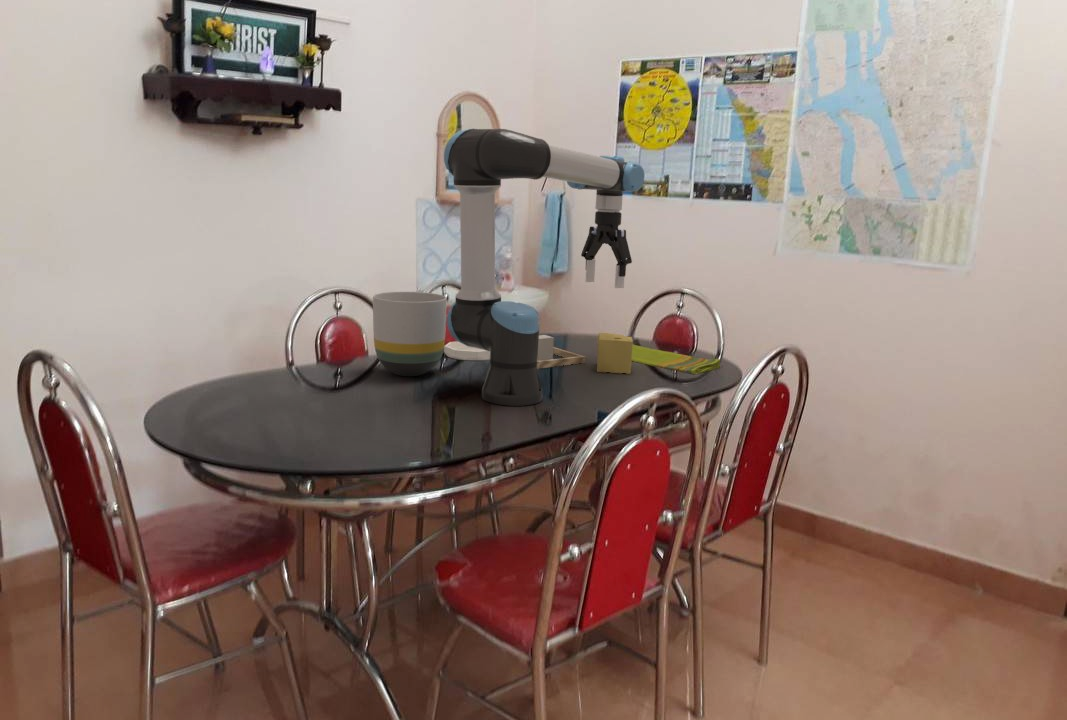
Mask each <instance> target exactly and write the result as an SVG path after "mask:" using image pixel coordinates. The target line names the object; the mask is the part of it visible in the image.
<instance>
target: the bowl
mask: <svg viewBox="0 0 1067 720" xmlns="http://www.w3.org/2000/svg"><path fill="white" fill-rule="evenodd" d="M443 353H444V354H445V355H446V357H448V358H450V359H454V360H459V361H477V362H478V361H490V351H487V350H483V349H479V348H475V347H469V346H466V345H464V344H462V343H460V342H458V341H457V340H456V341H449V342H448V343H447V344H444V350H443Z"/></svg>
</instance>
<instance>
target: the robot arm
mask: <svg viewBox="0 0 1067 720" xmlns="http://www.w3.org/2000/svg"><path fill="white" fill-rule="evenodd" d="M443 162H444V165H445V168H446V169H447V170H448V173H449V174H450V175H451V176H453V187H454V188H455V189H456V190H457V191H458V192H459V201H460V202H459V205H460V206H459V209H460V210H459V213H460V214H459V215H460V217H459V219H460V221H459V223H460V276H461V277H460V280H461V281H460V284H461V285H460V286H461V288H460V289H459V291H458V292H457V293H456V294H455V298H454V299H455V301H454V302H453V303H452V304H451V306H450V309H448V311H447V313H446V327H447V329H448V332H449V334H450V336H451V337H452V338H453V339H454V340H455V341H456V342H457V341H458V342H460V343H462V344H464V345H466V346H469V347H475V348H479V349H483V350H487V351H490V360H489V369H488V371H487V373H486V377H485V379H484V384H483V385H482V387H481V398H482V400H484V401H485V402H489V403H491V404H496V405H499V406H500V405H501V406H513V407H516V406H517V407H518V406H531V405H536V404H538V403H540V402H542V401H543V396H544V390H543V387H542V383H541V380H540V375H539V372H538V369H537V355H538V339H539V335H540V322H539V321H540V319H539V318H540V317H539V312H538V310H537V309H536V308H534V307H533V306H531V305H529V304H525V303H521V302H515V301H511V300H508V301H506V300H505V301H503V300H502V294H501V293H500V292H499V291H497V289H496V215H495V214H496V210H495V209H496V207H495V203H496V202H495V200H496V193H497V191H498V190H499V189H500V188H501V186H502V180H511V179H512V180H513V179H514V180H515V179H529V180H534V181H535V180H540V179H542V178H548V179H552V180H559V181H565V182H566V183H567V185H568V186H569V187H570V188H572V189H574V190H575V189H577V190H590V191H591V190H595V191H596V194H595V195H596V196H595V207H594V208H595V210H597V211H595V212H594V213H595V214H594V224H595V225H597V226H589V229H588V236H587V238H586V241H585V243H584V247H583V249H582V252H581V255H580V256H581V257H582V258H584V259H585V283H595V273H596V272H595V271H596V259H595V258H596V256H597V254H598V253H599V251H600V249H601V248H602V246H603V245H604V244H605V245H608V247H610V249H611V251H612V253H613V255H614V257H615V260H616V261H617V264H616V265H615V275H614V277H615V278H614V289H624V288H625V287H624V286H625V277H626V274H627V271H626V270H627V266H628V265H629V264H632V263H633V259H632V257H631V252H630V248H629V244H628V241H627V240H628V239H627V229H619V226H621V224H622V215H623V214H622V213H621V210H623V196H624V194H623V192H626V193H630V192H637V191H639V190H640V189H641V188H642V187H643V185H644V183H645V174H646V173H645V170H644V168H643V166H642V165H641V164H640V163H638V162H631V161H628V162H627V161H625V157H623V156H621V155H599V156H597V155H593V154H588V153H584V152H580V151H576V150H570V149H566V148H563V147H558V146H553V145H550V144H549V143H548V142H547V140H546V139H542V138H537V137H534V136H532V135H529V134H524V133H521V132H518V131H514V130H510V129H507V128H506V129H505V128H468V129H463V130H459V131H457V132H456V133H454V134H453V135H452V136H451V137H450V139H448V141H447V143H446V145H445V148H444V152H443Z"/></svg>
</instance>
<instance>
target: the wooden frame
mask: <svg viewBox="0 0 1067 720" xmlns="http://www.w3.org/2000/svg"><path fill="white" fill-rule="evenodd" d="M554 354H555V356H557V355H558V357H560V358H553V359H551V360H543V361H537V370H539V369H546V368H554V367H555V366H556V367H563V365H564V366H570V365H571V364H573V365H578V364H579V363H581V364H585V363H586V356H585V355H581V354H577V353H575V352H572V351H568V350H564V349H563V348H562V349H561V348H558V347H556V346H553V355H554ZM561 356H562V357H561ZM571 366H572V365H571Z"/></svg>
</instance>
